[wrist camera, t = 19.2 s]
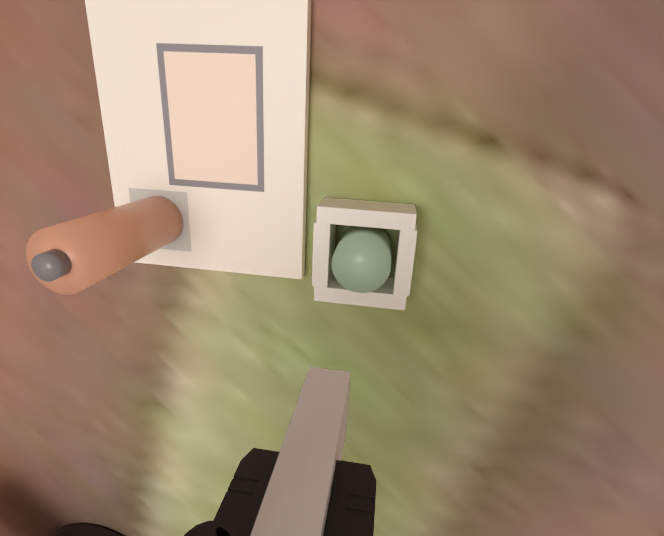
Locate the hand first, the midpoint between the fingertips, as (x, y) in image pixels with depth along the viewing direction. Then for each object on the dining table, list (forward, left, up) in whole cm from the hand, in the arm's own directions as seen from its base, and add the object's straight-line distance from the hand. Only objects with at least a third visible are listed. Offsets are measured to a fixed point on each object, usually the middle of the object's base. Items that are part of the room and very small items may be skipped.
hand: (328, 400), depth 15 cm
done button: (0, 0, -19) cm, 19 cm away
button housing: (0, 0, -19) cm, 19 cm away
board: (-13, +7, -19) cm, 24 cm away
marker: (-17, +1, -18) cm, 25 cm away
